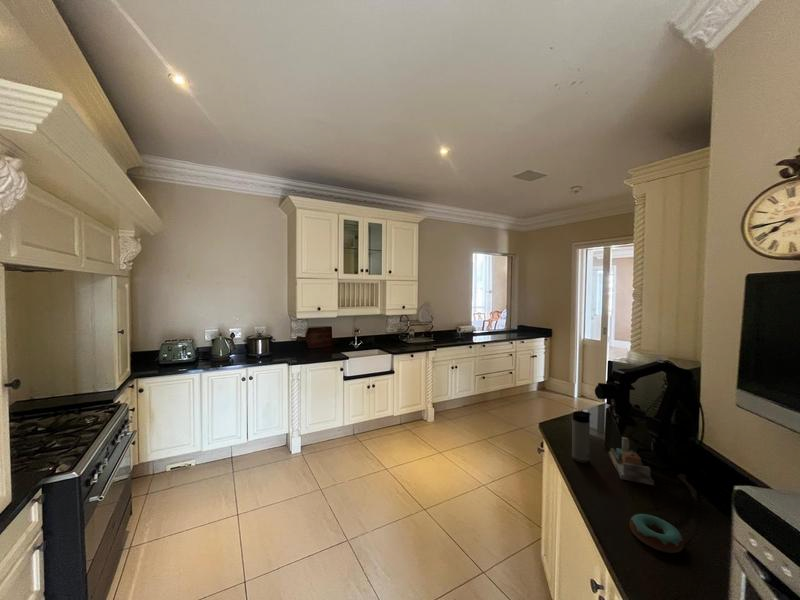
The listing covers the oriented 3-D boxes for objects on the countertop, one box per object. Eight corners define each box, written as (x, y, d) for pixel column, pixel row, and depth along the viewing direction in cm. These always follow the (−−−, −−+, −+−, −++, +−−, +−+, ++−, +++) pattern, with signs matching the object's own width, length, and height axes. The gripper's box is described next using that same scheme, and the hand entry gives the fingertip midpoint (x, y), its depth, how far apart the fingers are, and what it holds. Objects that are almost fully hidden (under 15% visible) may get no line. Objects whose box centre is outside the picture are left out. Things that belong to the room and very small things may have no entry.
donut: (636, 547, 84) (636, 533, 84) (624, 519, 95) (624, 506, 95) (692, 563, 80) (693, 547, 80) (673, 531, 91) (674, 518, 91)
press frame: (636, 459, 131) (636, 446, 131) (654, 485, 113) (654, 470, 113) (608, 454, 135) (609, 441, 135) (621, 478, 117) (621, 464, 116)
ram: (633, 457, 129) (633, 438, 129) (637, 463, 124) (637, 444, 124) (615, 454, 132) (616, 435, 132) (619, 460, 127) (619, 441, 127)
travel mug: (592, 464, 127) (593, 415, 126) (574, 462, 128) (575, 414, 128) (586, 456, 133) (587, 410, 133) (569, 454, 134) (570, 409, 134)
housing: (636, 465, 123) (636, 452, 123) (640, 472, 119) (641, 458, 119) (621, 462, 125) (621, 449, 125) (625, 469, 121) (625, 455, 121)
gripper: (652, 408, 124) (651, 447, 124) (637, 395, 141) (636, 429, 141) (619, 404, 128) (618, 442, 128) (608, 392, 145) (608, 425, 146)
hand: (621, 434), depth 136 cm, fingers closed
